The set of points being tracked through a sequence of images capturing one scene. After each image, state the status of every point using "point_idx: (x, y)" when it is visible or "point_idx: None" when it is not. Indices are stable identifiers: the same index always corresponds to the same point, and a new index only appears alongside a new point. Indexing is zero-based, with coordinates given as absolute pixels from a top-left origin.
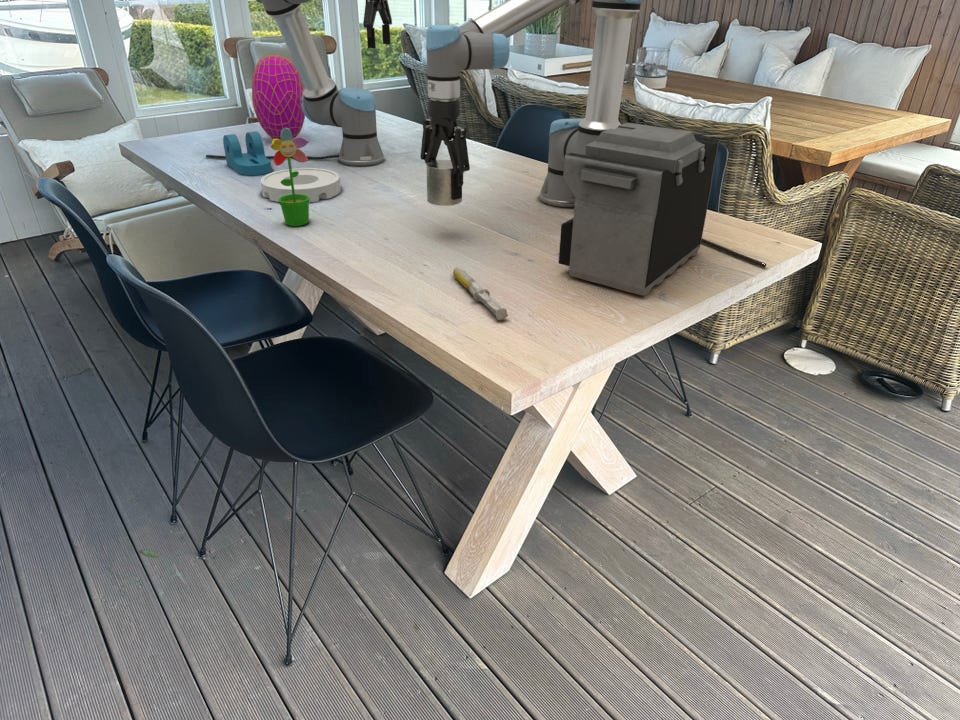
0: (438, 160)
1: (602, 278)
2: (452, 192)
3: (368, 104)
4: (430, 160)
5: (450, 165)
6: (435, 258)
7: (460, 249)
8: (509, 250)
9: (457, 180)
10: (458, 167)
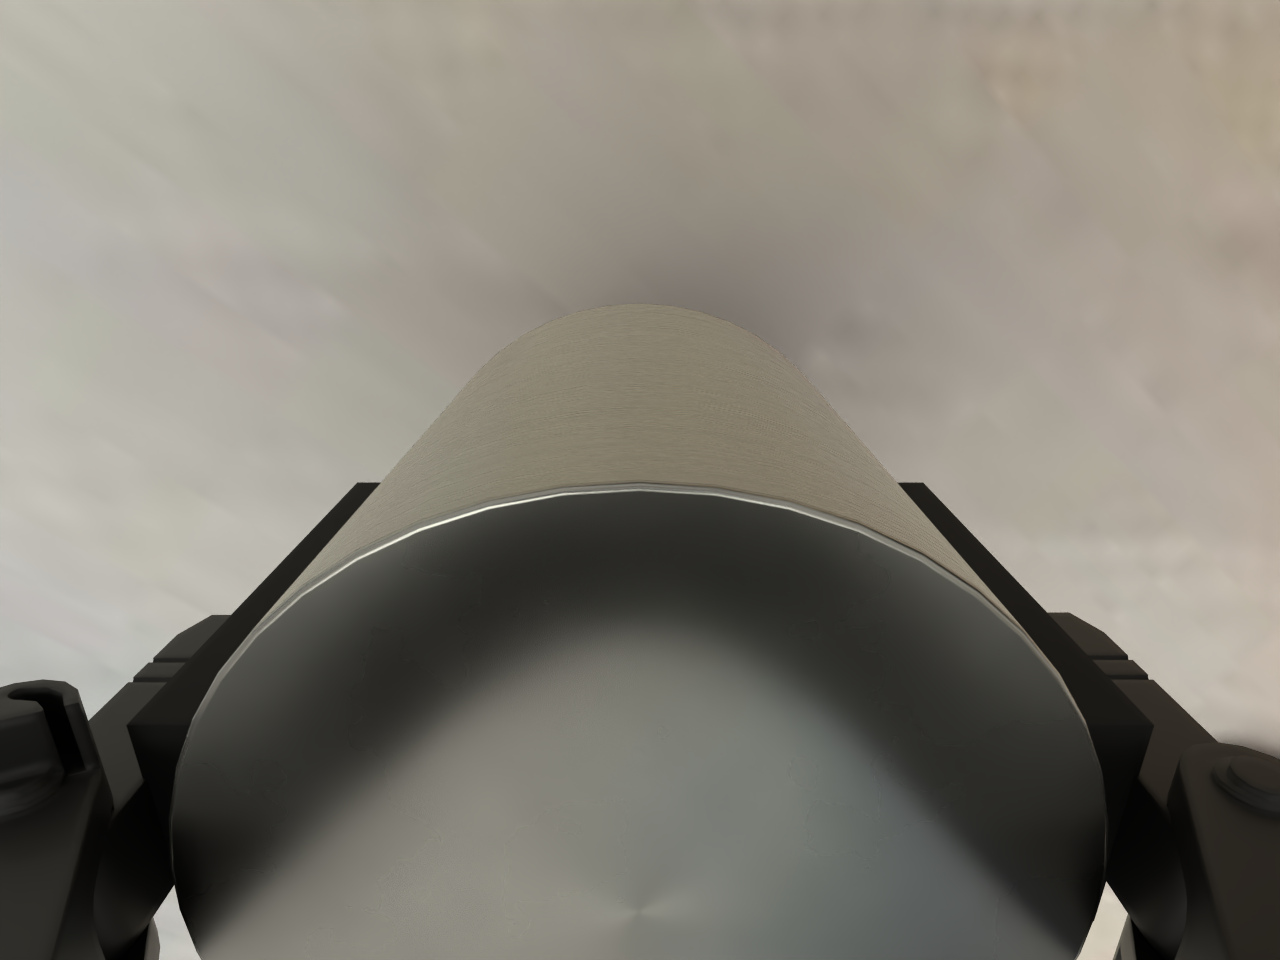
0: (227, 821)
1: None
2: None
3: None
4: (114, 930)
5: (841, 877)
6: None
7: (932, 488)
8: (1256, 212)
9: None
10: (1102, 821)
